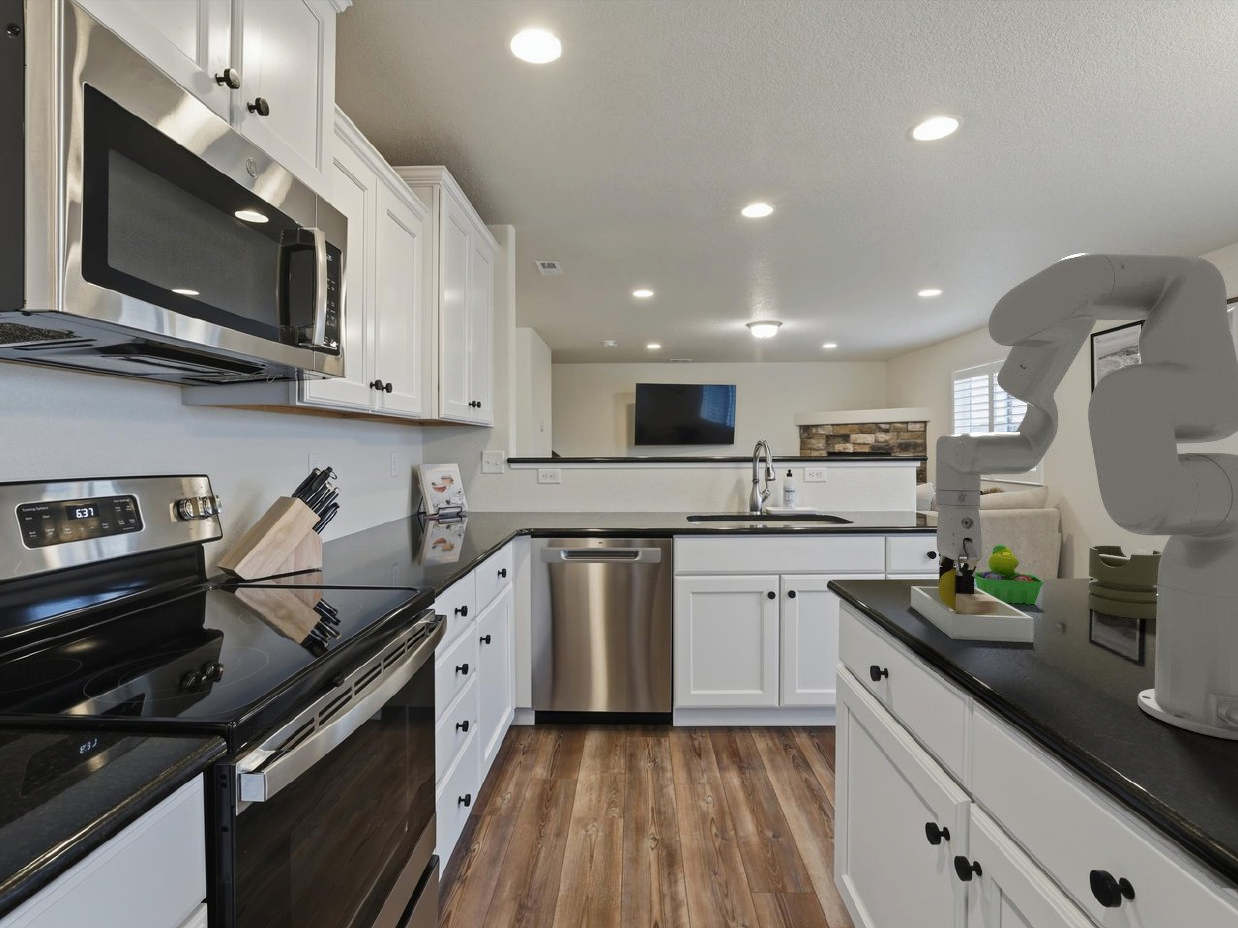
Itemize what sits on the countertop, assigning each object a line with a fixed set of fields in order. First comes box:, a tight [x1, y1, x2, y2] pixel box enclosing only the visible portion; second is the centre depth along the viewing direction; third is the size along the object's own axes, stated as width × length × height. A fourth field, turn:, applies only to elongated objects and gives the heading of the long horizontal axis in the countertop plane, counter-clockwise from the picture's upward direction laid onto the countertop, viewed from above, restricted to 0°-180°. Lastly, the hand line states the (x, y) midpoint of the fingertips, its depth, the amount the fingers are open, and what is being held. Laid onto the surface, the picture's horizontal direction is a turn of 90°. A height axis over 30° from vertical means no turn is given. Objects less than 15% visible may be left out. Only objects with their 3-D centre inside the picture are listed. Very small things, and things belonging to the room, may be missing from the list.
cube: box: [956, 594, 998, 616], centre depth 111 cm, size 5×5×5 cm
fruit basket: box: [974, 544, 1044, 605], centre depth 132 cm, size 11×9×11 cm
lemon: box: [938, 569, 957, 611], centre depth 120 cm, size 6×6×8 cm
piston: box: [1087, 544, 1163, 620], centre depth 123 cm, size 11×12×11 cm
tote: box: [910, 585, 1035, 643], centre depth 115 cm, size 22×13×4 cm, turn 172°
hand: (955, 591), depth 120 cm, fingers open, 7 cm apart
